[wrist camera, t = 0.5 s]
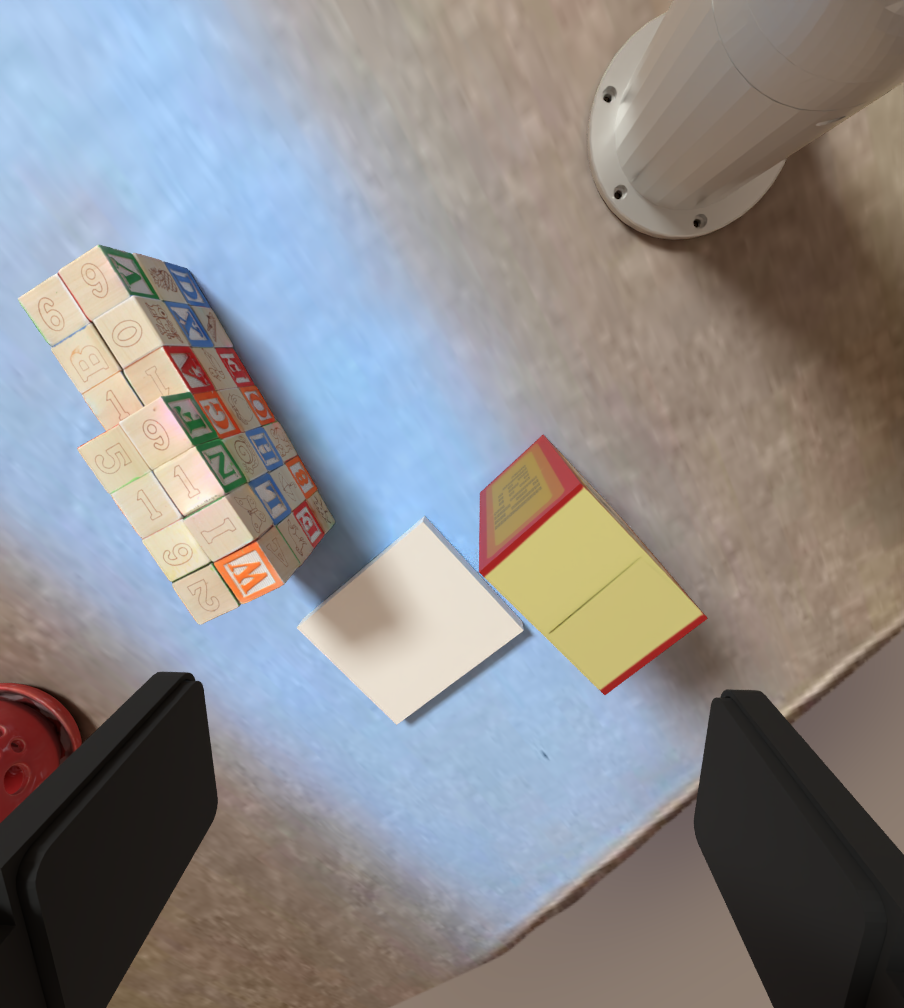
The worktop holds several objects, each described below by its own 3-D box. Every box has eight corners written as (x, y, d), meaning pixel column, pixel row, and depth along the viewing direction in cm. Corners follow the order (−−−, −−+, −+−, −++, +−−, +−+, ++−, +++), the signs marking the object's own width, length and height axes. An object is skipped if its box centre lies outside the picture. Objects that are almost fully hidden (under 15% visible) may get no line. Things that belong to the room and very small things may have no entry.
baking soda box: (480, 492, 41) (478, 575, 26) (543, 434, 40) (582, 485, 24) (561, 575, 43) (606, 699, 27) (625, 522, 41) (710, 622, 26)
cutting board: (424, 515, 42) (422, 521, 41) (522, 621, 44) (523, 630, 43) (302, 619, 45) (296, 628, 44) (399, 713, 47) (396, 724, 46)
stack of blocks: (120, 309, 39) (-36, 289, 27) (189, 266, 38) (57, 227, 26) (273, 555, 44) (196, 629, 32) (338, 523, 43) (284, 588, 31)
